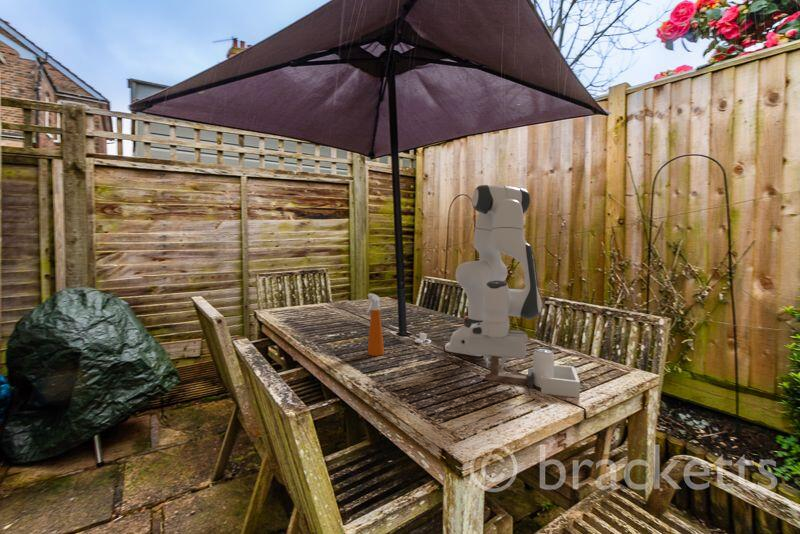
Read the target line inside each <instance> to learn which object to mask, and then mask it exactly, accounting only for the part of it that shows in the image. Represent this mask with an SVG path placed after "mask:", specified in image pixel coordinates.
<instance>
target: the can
mask: <svg viewBox="0 0 800 534" xmlns="http://www.w3.org/2000/svg"><path fill="white" fill-rule="evenodd" d="M532 359H533V360H532V368H533V386H534V387H537V388H539V389H541V379H542V377H549V378H554V365H555V354H554V350H553V349H551V348H549V347H540V346H539V347H535V348H534V352H533V358H532Z"/></svg>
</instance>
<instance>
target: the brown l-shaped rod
mask: <svg viewBox="0 0 800 534" xmlns="http://www.w3.org/2000/svg"><path fill="white" fill-rule="evenodd" d="M499 361H500V356H490V362H491V368H490V371H485V374H484V375H485V376H484V378H485V379H484V380H485V381H486V380H487V381H494V382H502V383H510V384H518V385H519V384H520V385H524V386H525V385H527V388H528V389H532V390H533V389H534V384H533V367H528V368H527V375H521V374H520V375H519V374H513V373H512V374H510V373H502V372H499V370H500V369H499V363H500V362H499Z"/></svg>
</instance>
